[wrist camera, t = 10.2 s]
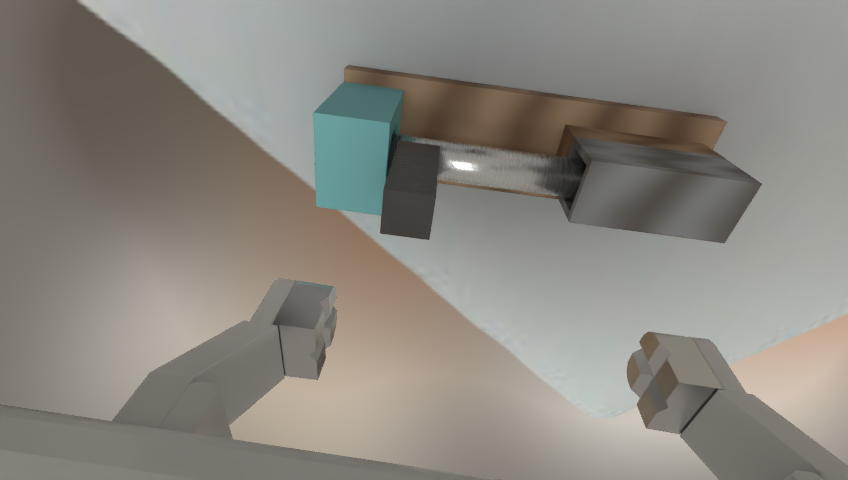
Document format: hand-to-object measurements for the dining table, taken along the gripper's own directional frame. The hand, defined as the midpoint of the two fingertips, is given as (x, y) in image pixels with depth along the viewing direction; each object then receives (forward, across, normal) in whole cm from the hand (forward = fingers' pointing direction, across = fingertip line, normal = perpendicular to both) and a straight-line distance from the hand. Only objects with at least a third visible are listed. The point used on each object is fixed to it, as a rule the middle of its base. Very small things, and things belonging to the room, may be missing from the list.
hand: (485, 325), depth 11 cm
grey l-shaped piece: (+23, 0, +5) cm, 24 cm away
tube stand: (+29, -6, +5) cm, 30 cm away
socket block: (+27, +8, +5) cm, 29 cm away
